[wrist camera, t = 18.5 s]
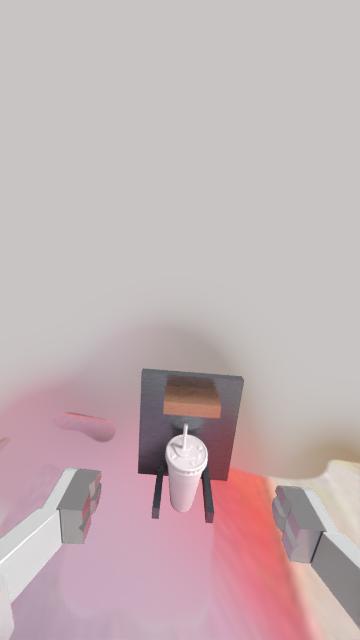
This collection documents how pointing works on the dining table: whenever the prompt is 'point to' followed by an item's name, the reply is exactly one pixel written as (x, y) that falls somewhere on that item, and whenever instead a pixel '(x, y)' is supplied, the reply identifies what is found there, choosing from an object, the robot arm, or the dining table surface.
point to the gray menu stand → (201, 416)
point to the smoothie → (185, 468)
